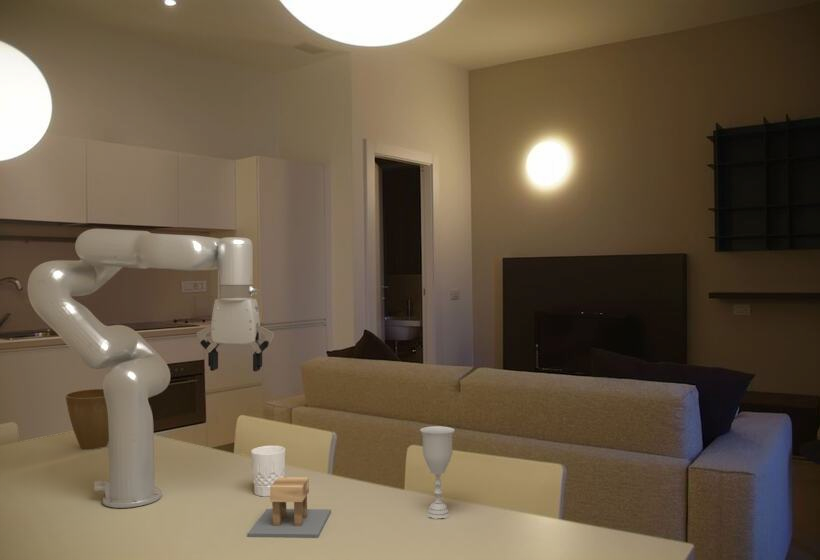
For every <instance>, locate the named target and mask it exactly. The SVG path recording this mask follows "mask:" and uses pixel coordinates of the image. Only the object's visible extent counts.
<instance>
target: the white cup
mask: <svg viewBox="0 0 820 560" xmlns="http://www.w3.org/2000/svg"><path fill="white" fill-rule="evenodd" d="M250 456H251V470H252V471H251V472H252V482H253V489H254V491H253V492H254V495H256V496H258V497H270V486H271V485H272V484H273V483H274V482H275V480H276V479H277V478H278V477H285V473H286V472H285V471H286V448H285V447H284V446H281V445H263V446H259V447H258V446H257V447H255V448H252V449H251V450H250Z"/></svg>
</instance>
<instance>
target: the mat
mask: <svg viewBox="0 0 820 560" xmlns="http://www.w3.org/2000/svg"><path fill="white" fill-rule="evenodd" d="M331 513H332V509H328V508H327V509H321V508H320V509H319V508H318V509H311V508H309V509H308V508H307V517H306V518H303V524H302V526H294V508H292V509H291V508H286V517H285V518H281V525H280V526H273V508H266V509H265V510H264V512H263V513H262V514H261V515H260V517H259V518H258V519H257V521H256V522H255V523H254V524H253V525H252V527H251V528H250V529H249V530H248V532H247V533H246V535H247V537H248V538H249V537H251V538H252V537H254V538H256V537H257V538H258V537H259V538H319V537H320V535H321V533H322V531H323V529H324V527H325V525H326V523H327V522H328V520H329V517H330V515H331Z"/></svg>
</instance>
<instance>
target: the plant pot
mask: <svg viewBox="0 0 820 560" xmlns="http://www.w3.org/2000/svg"><path fill="white" fill-rule="evenodd" d="M65 400H66V407H67V412H68V416H69V419H70V423H71V427H72V429H73V432H74V435H75V437H76V440H77V442H78V445H79V447H80V448H81V449H83V450H96V449H95V448H97V449H102V448H104V447H107V446H108V445H109V430H108V412H107V405H106V400H105V396H104V390H103V388H93V389H92V388H91V389H80V390H76V391H72V392H71V391H70V392H68V393H66V394H65ZM101 447H102V448H101Z"/></svg>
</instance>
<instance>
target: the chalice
mask: <svg viewBox="0 0 820 560" xmlns="http://www.w3.org/2000/svg"><path fill="white" fill-rule="evenodd" d="M420 432H421V434H422V455H423V457H424V460H425V463H426V465H427V466H428V469H429V470H430V473H432V474H434V476H435V481H434V483H433V484H434V485H435V490H434V491H433V493H434V494H435V500H434V502H431V504H430V505H429V508H428V510H427V512H426V515H427V516H429V517H432V518H445V517H448V516H450V517H451V513H450V512H449V509H448V505H447V504H446V503H445V502H443V501H442V499H441V495H442V494H443V490H442V489H441V486H442V485H443V484H442V480H441V476H442V475H443V474H444V473H446V470H447V468H448V466H449V464H450V462H451V458H452V455H453V435H454V433H455V428H452V427H448V426H441V425H437V426H436V425H435V426H426V427H422V428H420ZM427 516H426V517H427Z"/></svg>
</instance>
